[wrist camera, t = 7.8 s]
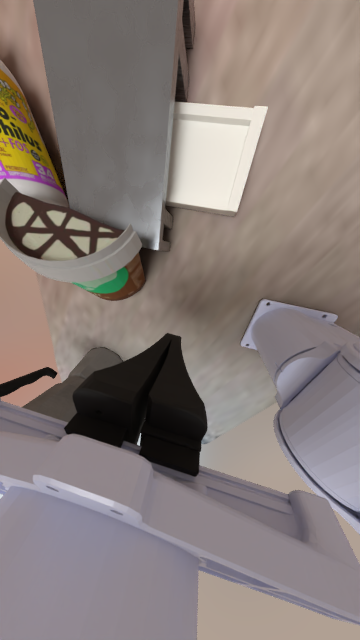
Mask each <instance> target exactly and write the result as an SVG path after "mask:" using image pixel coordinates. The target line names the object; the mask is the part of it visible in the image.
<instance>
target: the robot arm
mask: <svg viewBox="0 0 360 640" xmlns="http://www.w3.org/2000/svg"><path fill="white" fill-rule="evenodd" d="M268 302H269V305H266V304H267V303H268ZM323 315H325V316H324V317H322V316H323ZM337 318H338V316H337V315H335V314H333V313H328V312H323V311H319V310H314V309H309V308H305V307H300V306H295V305H291V304H286V303H281V302H277V301H272V300H267V299H262V300H261V301H260V303H259V305H258V307H257V309H256V311H255V313H254V315H253V317H252V319H251V321H250V324H249V326H248V328H247V330H246V332H245V334H244V336H243V338H242V340H241V346H243V347H247V348H251V349H255V350H258V352H259V354H260V356H261V358H262V360H263V362H264V364H265V366H266V368H267V370H268V372H269V374H270V376H271V378H272V380H273V382H274V384H275V386H276V388H277V394H276V396H275V398H276V400H277V403H278V405H279V407H280V410H279V411H278V412H277V413H276V414H275V417H274V431H275V434H276V437H277V440H278V443H279V445H280V447H281V449H282V451H283V453H284V454H285V456H286V458H287V459H288V461H289V462H290V464H291V466H292V467H293V468H294V470H295V471H296V472H297V473H298V475H299V476H300V477H301V478H302V480H304V482H305V483H306V484H307V485H308V486H309V487H310V488H311V489H312V490H313V491H314V492H315V493H316V494H317V495H318V496H317V495H314V494H311V493H308V492H305V491H300V490H295V491H292V492H290V493H289V494H285V493H282V492H279V491H276V490H273V489H270V488H267V487H264V486H261V485H258V484H254V483H252V482H248V481H246V480H242V479H239V478H236V477H233V476H230V475H227V474H224V473H221V472H218V471H215V470H212V469H208V468H206V467H202V466H200V465H199V455H200V451H201V440H202V439H203V437H204V435H205V434H206V432H207V416H206V411H205V406H204V403H203V401H202V400H201V398H200V397H199V395H198V393H197V391H196V389H195V388H194V386H193V384H192V381H191V379H190V377H189V375H188V372H187V370H186V367H185V363H184V360H183V355H182V350H181V337H180V336H176V335H172V334H168V333H167V334H165V335H164V336H163V337H162V338H161V339H160V340H159V341H158V342H156V343H155V344H154V345H152V346H151V347H150V348H148V349H147V350H145V351H144V352H142V353H140V354H138V355H137V356H135V357H133V358H131V359H129V360H126V361H124V362H122V363H119V364H116V365H114V366H111V367H107V368H104V369H101V370H97V371H94V372H93V373H92V374H91V375H90V376H88V377H87V378H86V379H85V380H84V381H83V382H82V383H81V385H80V386H79V387H78V388H77V389H76V390H75V391H74V392H73V395H72V397H73V402H74V405H75V408H76V411H77V413H76V414H75V415H74V416H73V418H72V419H71V420H70V421H69V423H68V422H65V421H62V420H59V419H56V418H53V417H50V416H46V415H43V414H40V413H37V412H34V411H31V410H28V409H25V408H22V407H19V406H16V405H13V404H10V403H7V402H4V401H1V399H0V494H3V497H2V498H1V499H0V640H197V606H198V604H197V603H198V570H200V571H203V572H206V573H208V574H211V575H214V576H217V577H220V578H222V579H225V580H228V581H231V582H234V583H237V584H239V585H242V586H245V587H248V588H251V589H253V590H256V591H259V592H262V593H265V594H268V595H270V596H273V597H276V598H279V599H281V600H284V601H287V602H290V603H292V604H295V605H298V606H300V607H303V608H306V609H308V610H312V611H314V612H317V613H319V614H322V615H324V616H327V617H330V618H332V619H336V620H340V621H344V622H348V623H352V624H355V625H360V564H359V562H358V560H357V558H356V556H355V554H354V552H353V550H352V548H351V546H350V544H349V542H348V540H347V538H346V536H345V534H344V532H343V530H342V528H341V526H340V524H339V522H338V520H337V518H336V516H335V514H334V511H333V509H334V510H335V511H337V512H338V513H339V514H340V515H341V516H342V517H343V518H344V519H345V520H346V521H347V522H348V523H349V524H350V525H351V526H352V527H353V528H354V529H355V530H356V531H357V533H359V535H360V337H358V336H356V335H355V334H353V333H351V332H349V331H347V330H345V329H344V328H342V327H340V326H338V325H336V324H335V323H334V322H335V321H336V320H337ZM246 344H248V345H246ZM140 433H141V441H140V446H138V445H137V442H138V439H139V436H140ZM332 508H333V509H332Z"/></svg>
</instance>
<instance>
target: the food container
mask: <svg viewBox="0 0 360 640" xmlns="http://www.w3.org/2000/svg"><path fill="white" fill-rule="evenodd" d="M0 239H1V240H2V241H3V242H4V243H5V245H6V246H7V247H8V249H9V250H10V251H11V252H12V253H13V254H14V255H16V256H17V257H18V258H19V259H20V260H22V261H23V262H24V263H25V264H27V265H28V266H29V267H30V268H31V269H33V270H34V271H36V272H37V273H39V274H41V275H43V276H45V277H47V278H50V279H54V280H57V281H63V282H71V283H73V284H75V285H77V286H79V287H81V288H83V289H85V290H87V291H88V292H90V293H92V294H94V295H96V296H98V297H100V298H102V299H105V300H111V301H117V300H123V299H126V298H128V297H130V296H132V295H134V294H135V293H136V292H138V291H139V290H140V289H141V287H142V286H143V285H144V283H145V276H144V272H143V268H142V264H141V260H140V256H139V250H140V249H141V247H142V246H143V245H142V243H141V241H140V239H139V237H138V235H137V233H136V231H133V228H132V226H131V224H129V225H128V227H127V228H126V230H125V231H124V230H121V229H117V228H114V227H111V226H109V225H106V224H103V223H101V222H99V221H97V220H94V219H92V218H90V217H88V216H86V215H84V214H82V213H80V212H78V211H75V210H73V209H71V208H67V207H64V206H60V205H55V204H50V203H46V202H43V201H41V200H38V199H35V198H32V197H30V196H27V195H24V194H22V193H20V192H19V191H18V190H17V189H16V188H15V187H14V186H13V185H12V184H11V183H10V182H9V181H8V180H6V179H5V178H3V180H2V181H1V182H0Z"/></svg>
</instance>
